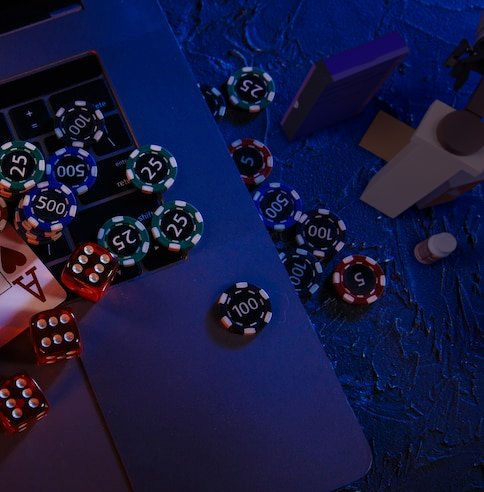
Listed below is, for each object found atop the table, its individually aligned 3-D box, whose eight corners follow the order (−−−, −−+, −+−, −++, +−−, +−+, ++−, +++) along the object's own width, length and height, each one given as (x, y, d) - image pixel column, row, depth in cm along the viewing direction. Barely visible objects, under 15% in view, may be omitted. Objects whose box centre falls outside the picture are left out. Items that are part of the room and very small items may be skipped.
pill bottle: (418, 266, 127) (439, 256, 119) (410, 245, 128) (430, 233, 120) (440, 261, 127) (462, 250, 119) (432, 240, 129) (453, 228, 120)
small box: (418, 210, 130) (450, 188, 118) (406, 183, 132) (437, 158, 119) (453, 201, 131) (489, 178, 118) (441, 174, 133) (476, 148, 120)
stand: (416, 197, 131) (502, 135, 102) (399, 227, 129) (482, 172, 100) (366, 168, 133) (436, 98, 104) (348, 197, 131) (415, 134, 102)
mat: (428, 138, 135) (429, 137, 134) (408, 173, 133) (408, 172, 132) (379, 110, 137) (380, 109, 136) (358, 144, 134) (359, 144, 134)
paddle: (514, 84, 105) (521, 79, 103) (470, 164, 101) (476, 160, 99) (473, 62, 106) (479, 56, 104) (428, 140, 102) (433, 135, 100)
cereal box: (349, 95, 138) (397, 29, 114) (360, 113, 136) (410, 50, 113) (280, 123, 136) (314, 62, 113) (290, 141, 135) (327, 83, 111)
